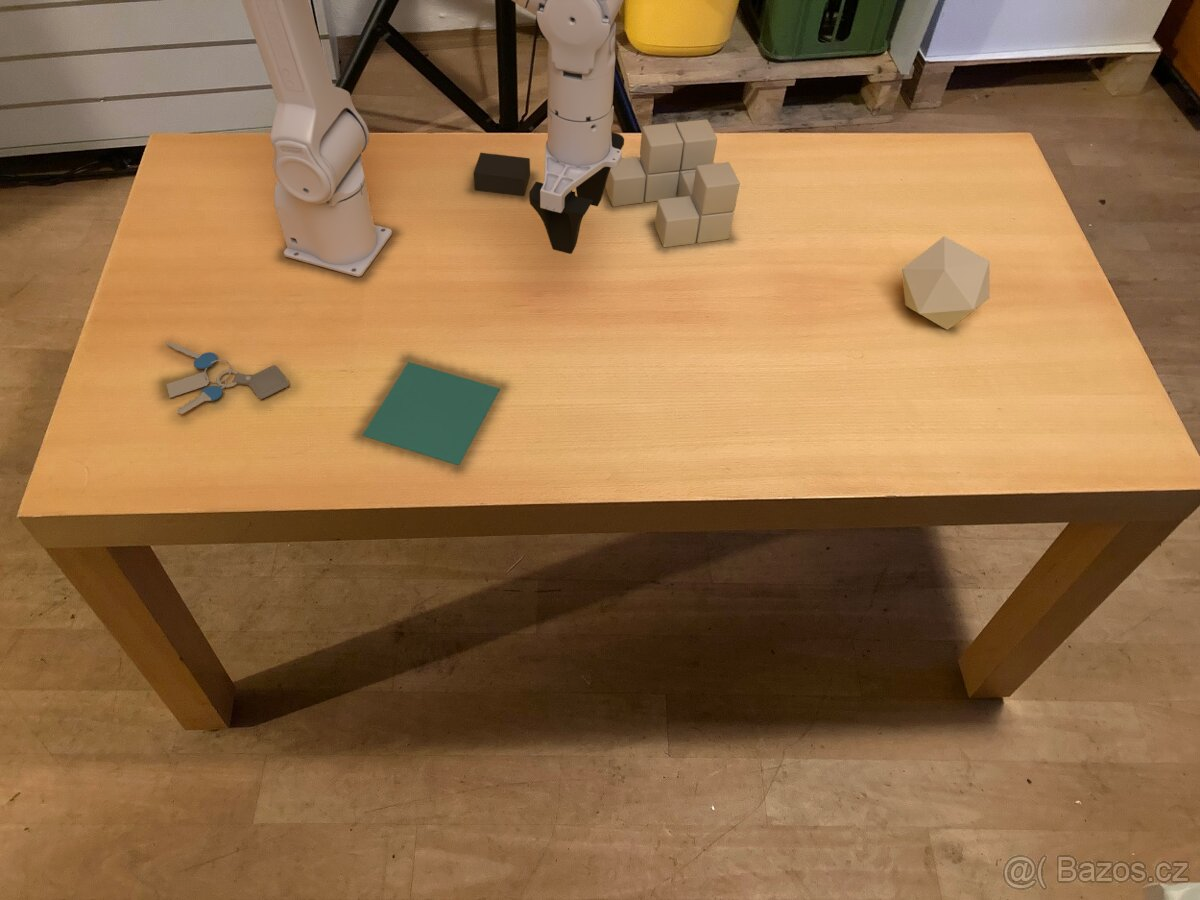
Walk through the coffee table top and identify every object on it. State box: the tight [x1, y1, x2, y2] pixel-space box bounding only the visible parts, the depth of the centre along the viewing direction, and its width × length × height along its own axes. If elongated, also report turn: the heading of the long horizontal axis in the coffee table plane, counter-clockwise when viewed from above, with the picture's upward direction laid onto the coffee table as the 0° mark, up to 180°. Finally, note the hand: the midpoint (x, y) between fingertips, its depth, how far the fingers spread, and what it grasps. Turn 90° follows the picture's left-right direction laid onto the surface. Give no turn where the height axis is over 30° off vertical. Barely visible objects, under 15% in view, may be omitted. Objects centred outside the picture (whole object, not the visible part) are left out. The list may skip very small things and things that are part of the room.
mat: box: [362, 361, 501, 466], centre depth 89 cm, size 10×10×1 cm
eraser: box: [473, 152, 531, 197], centre depth 109 cm, size 6×4×2 cm, turn 83°
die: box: [901, 235, 991, 331], centre depth 97 cm, size 8×9×10 cm
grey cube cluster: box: [605, 119, 741, 248], centre depth 105 cm, size 12×12×8 cm
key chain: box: [165, 341, 291, 415], centre depth 89 cm, size 14×8×1 cm, turn 76°
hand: (576, 225), depth 91 cm, fingers open, 7 cm apart
